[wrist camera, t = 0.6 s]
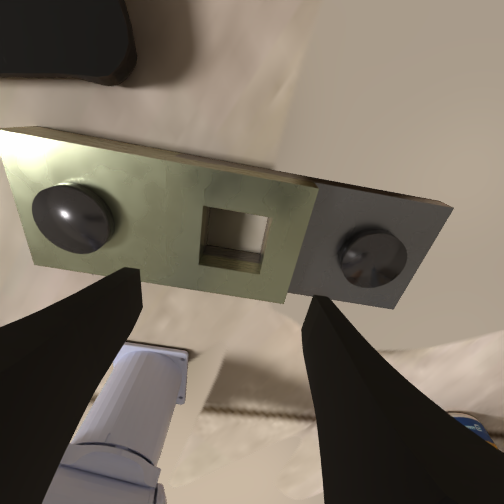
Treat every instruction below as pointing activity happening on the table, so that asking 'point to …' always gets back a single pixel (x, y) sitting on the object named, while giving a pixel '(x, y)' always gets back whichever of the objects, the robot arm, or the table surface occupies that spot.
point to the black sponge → (67, 40)
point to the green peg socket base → (197, 220)
